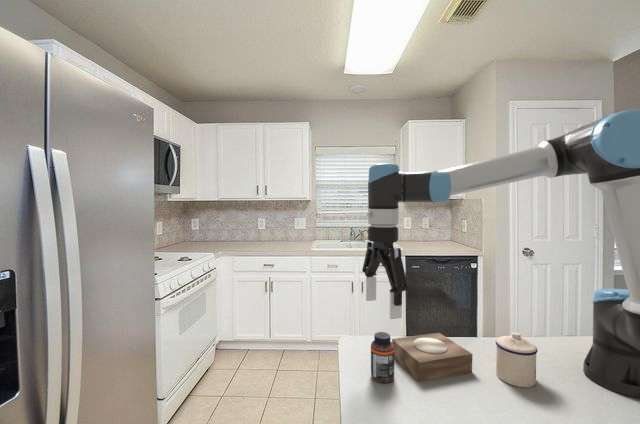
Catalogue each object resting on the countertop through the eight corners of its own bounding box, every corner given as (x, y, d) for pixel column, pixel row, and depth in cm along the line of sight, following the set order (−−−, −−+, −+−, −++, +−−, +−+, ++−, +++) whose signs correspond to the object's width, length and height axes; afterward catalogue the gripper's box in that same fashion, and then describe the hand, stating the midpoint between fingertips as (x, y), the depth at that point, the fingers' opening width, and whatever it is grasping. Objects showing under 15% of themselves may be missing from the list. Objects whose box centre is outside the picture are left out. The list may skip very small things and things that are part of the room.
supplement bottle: (374, 369, 85) (374, 328, 85) (396, 374, 83) (396, 332, 82) (367, 380, 80) (367, 337, 80) (391, 386, 77) (391, 341, 77)
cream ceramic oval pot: (545, 388, 76) (546, 341, 76) (507, 388, 76) (508, 341, 76) (515, 363, 88) (516, 322, 88) (483, 363, 88) (483, 322, 88)
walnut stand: (472, 372, 84) (472, 352, 83) (419, 382, 79) (419, 361, 79) (438, 348, 97) (438, 331, 97) (392, 355, 93) (392, 337, 93)
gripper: (351, 222, 91) (350, 295, 91) (394, 230, 67) (393, 329, 67) (375, 222, 93) (374, 293, 93) (425, 229, 69) (423, 325, 69)
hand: (382, 308), depth 80 cm, fingers open, 13 cm apart
